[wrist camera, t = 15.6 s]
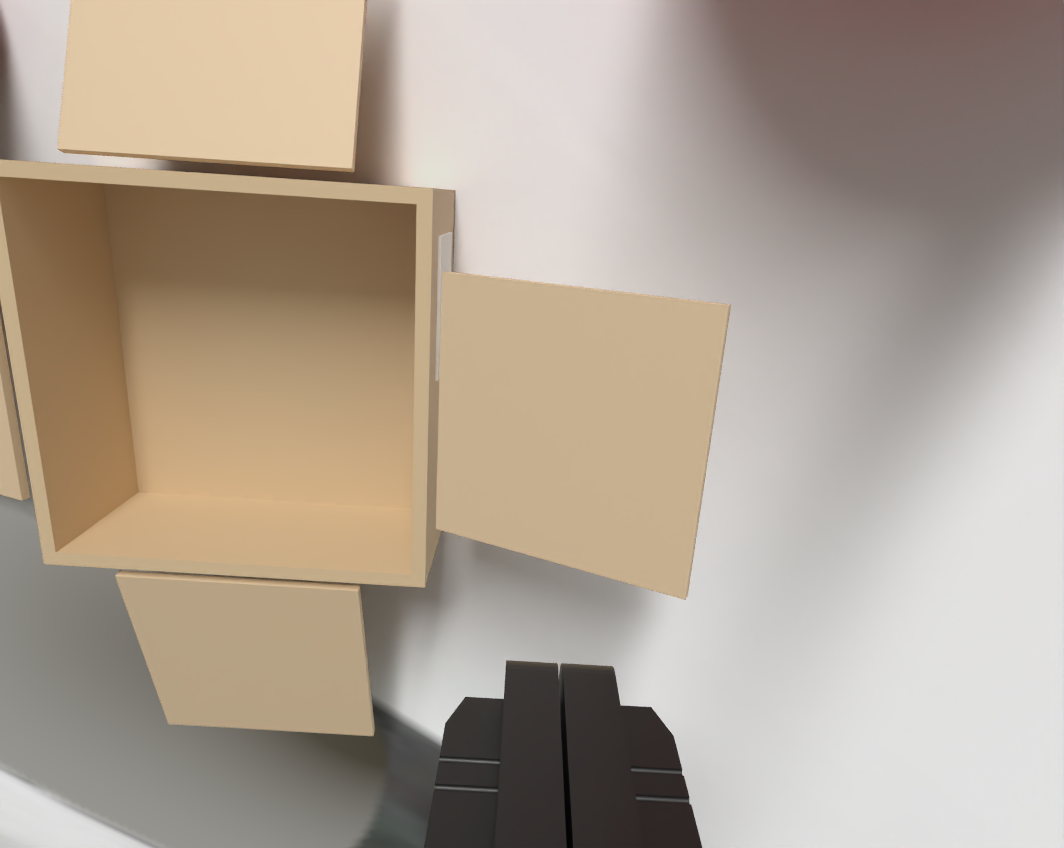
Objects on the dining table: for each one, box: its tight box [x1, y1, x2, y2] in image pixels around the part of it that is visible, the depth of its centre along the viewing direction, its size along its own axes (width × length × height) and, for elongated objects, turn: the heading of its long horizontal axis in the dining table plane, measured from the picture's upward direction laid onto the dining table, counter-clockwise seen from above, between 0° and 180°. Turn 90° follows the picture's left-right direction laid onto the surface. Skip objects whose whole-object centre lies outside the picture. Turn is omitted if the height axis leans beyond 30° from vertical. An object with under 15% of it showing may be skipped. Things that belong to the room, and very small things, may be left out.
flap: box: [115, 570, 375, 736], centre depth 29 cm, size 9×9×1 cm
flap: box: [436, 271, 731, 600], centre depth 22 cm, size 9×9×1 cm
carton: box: [0, 0, 455, 588], centre depth 25 cm, size 23×23×6 cm
